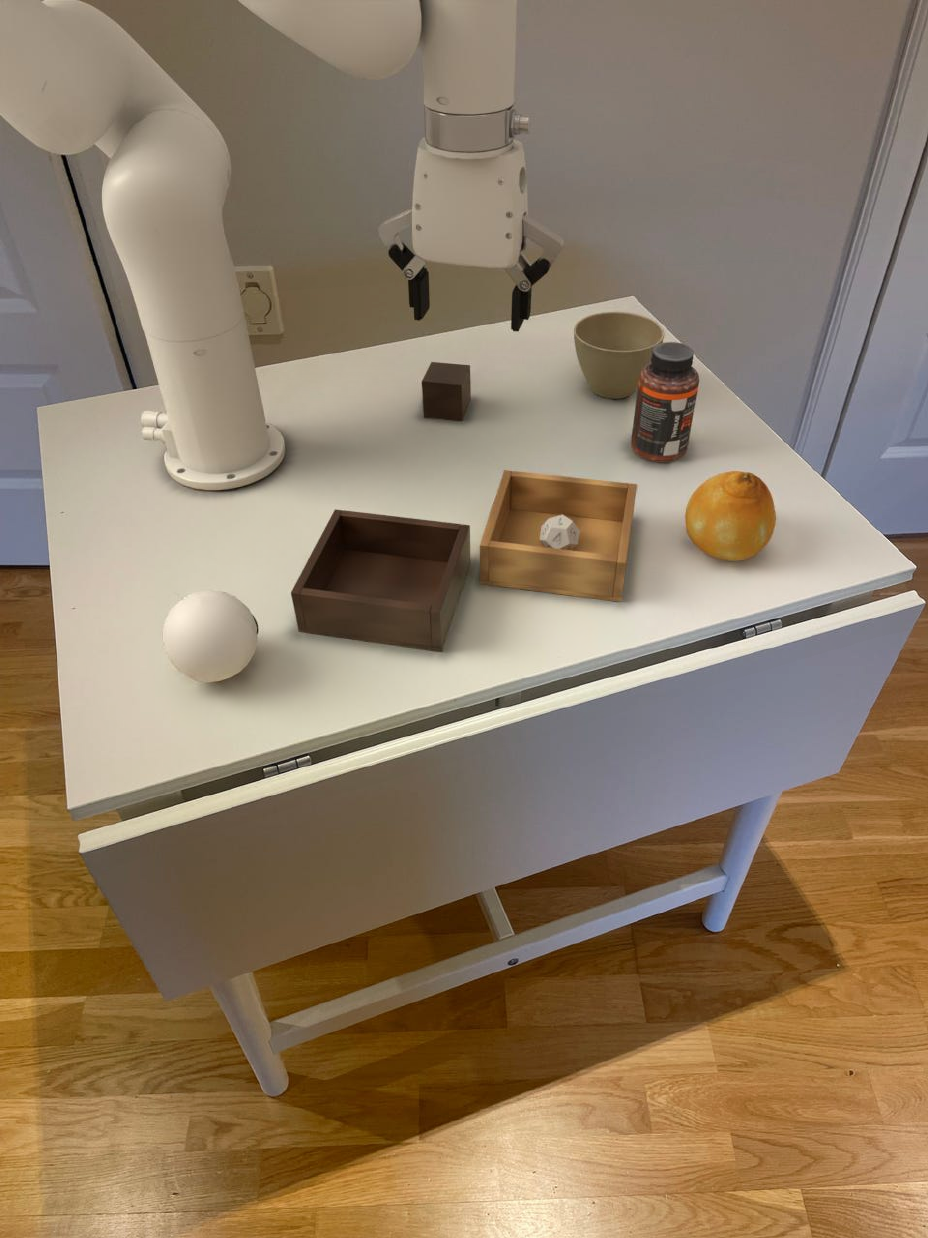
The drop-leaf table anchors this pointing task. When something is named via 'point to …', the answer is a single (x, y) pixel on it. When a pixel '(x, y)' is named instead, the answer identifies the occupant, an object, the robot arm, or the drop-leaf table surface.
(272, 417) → the drop-leaf table surface
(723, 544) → the fruit
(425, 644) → the dark bin
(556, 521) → the game die
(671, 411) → the supplement bottle
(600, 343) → the flower pot
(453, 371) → the walnut block
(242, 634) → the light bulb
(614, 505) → the light bin
